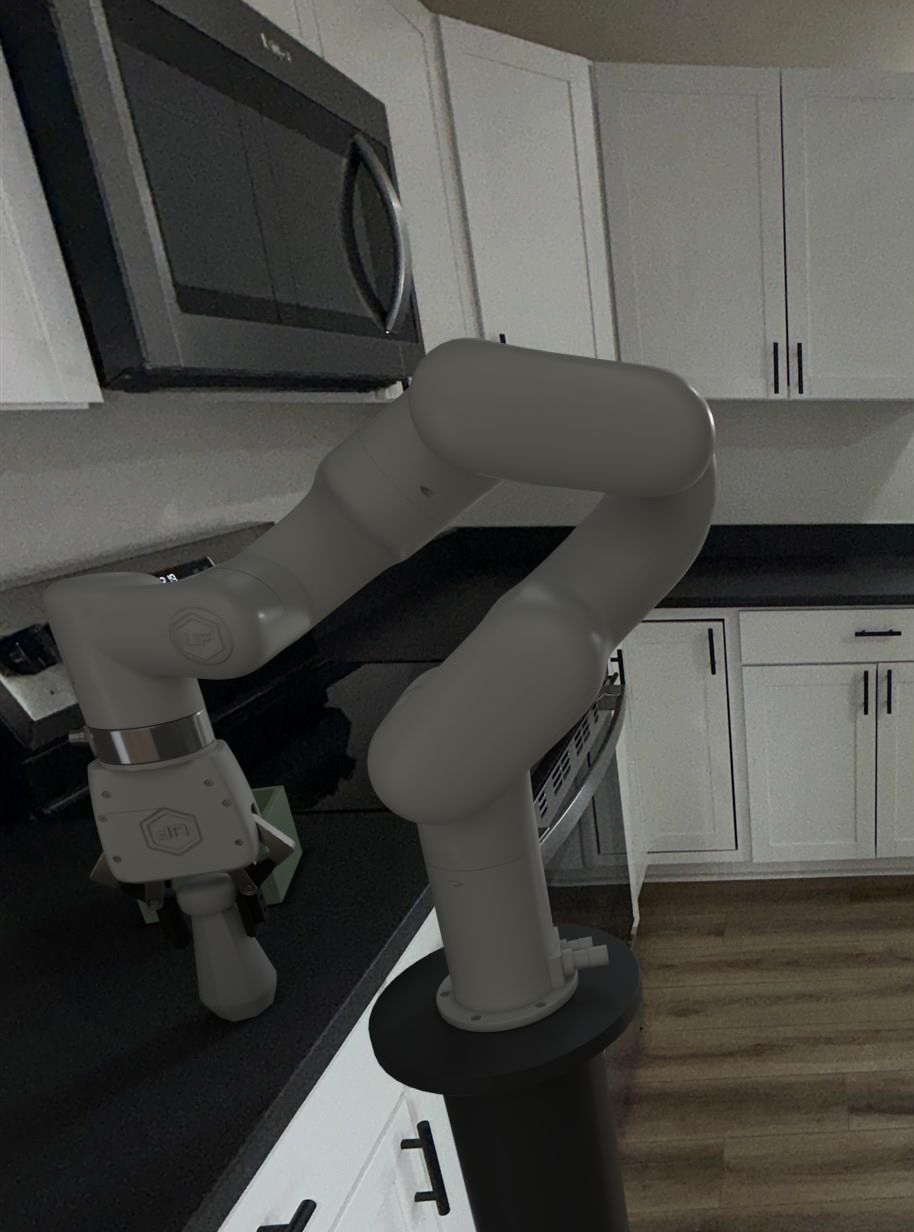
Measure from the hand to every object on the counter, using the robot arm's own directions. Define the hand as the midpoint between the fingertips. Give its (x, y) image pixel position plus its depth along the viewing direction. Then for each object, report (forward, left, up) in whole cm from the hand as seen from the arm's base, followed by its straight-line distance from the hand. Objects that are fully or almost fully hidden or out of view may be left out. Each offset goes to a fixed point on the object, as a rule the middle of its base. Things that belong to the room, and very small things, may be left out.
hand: (221, 933), depth 79 cm
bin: (+7, -26, -8) cm, 28 cm away
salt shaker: (0, 0, -8) cm, 8 cm away
